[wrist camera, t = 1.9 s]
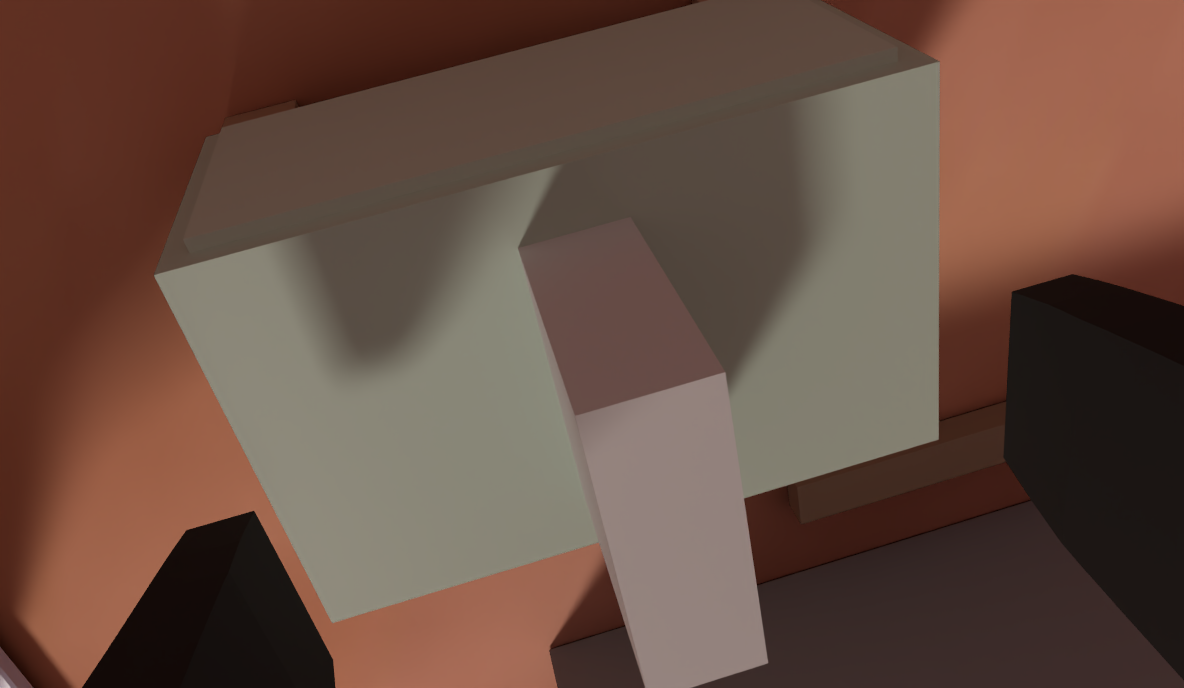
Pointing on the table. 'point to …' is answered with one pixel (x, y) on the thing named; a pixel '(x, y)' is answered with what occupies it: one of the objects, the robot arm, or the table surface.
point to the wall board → (923, 597)
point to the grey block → (576, 307)
